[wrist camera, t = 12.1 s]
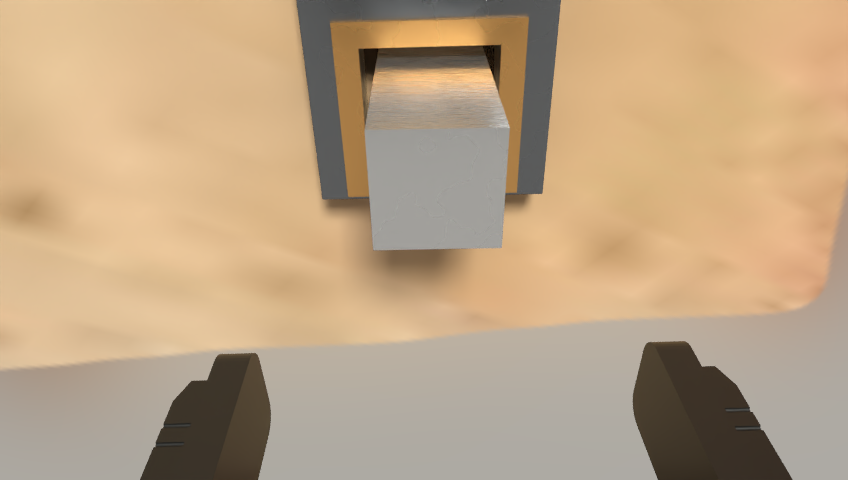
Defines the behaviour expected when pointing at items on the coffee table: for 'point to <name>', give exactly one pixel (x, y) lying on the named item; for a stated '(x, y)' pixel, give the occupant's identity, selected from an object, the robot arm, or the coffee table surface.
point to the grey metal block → (436, 150)
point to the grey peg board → (426, 27)
